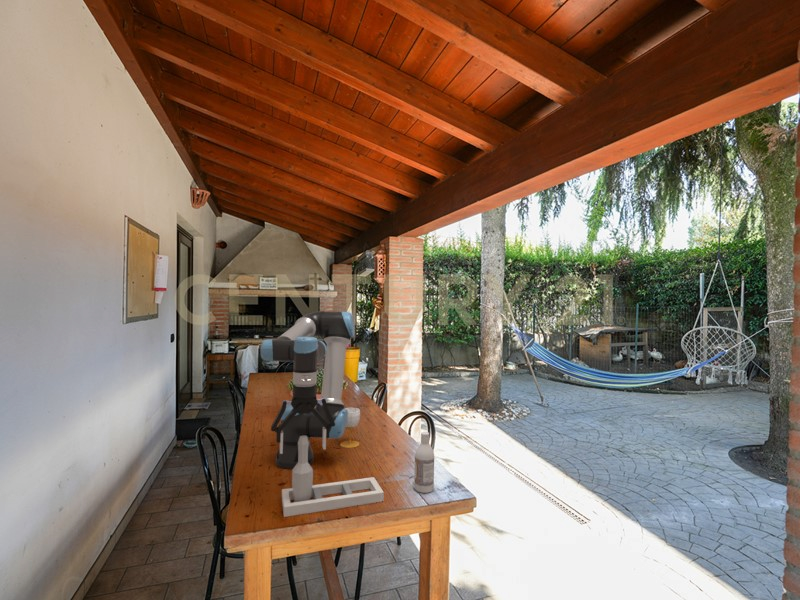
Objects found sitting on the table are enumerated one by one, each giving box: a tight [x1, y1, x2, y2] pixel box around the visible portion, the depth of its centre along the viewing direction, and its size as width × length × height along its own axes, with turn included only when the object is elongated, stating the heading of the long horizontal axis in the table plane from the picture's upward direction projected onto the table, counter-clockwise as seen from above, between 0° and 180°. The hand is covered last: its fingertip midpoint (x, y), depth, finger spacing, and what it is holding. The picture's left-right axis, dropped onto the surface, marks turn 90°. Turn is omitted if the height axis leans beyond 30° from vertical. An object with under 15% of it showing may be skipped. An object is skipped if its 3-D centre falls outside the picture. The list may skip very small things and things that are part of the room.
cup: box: [339, 407, 361, 449], centre depth 182 cm, size 9×9×16 cm
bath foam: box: [413, 431, 435, 494], centre depth 140 cm, size 7×7×20 cm
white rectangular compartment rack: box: [281, 476, 385, 518], centre depth 131 cm, size 32×12×3 cm, turn 110°
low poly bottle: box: [291, 436, 314, 503], centre depth 127 cm, size 6×6×22 cm
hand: (302, 450), depth 127 cm, fingers open, 13 cm apart
